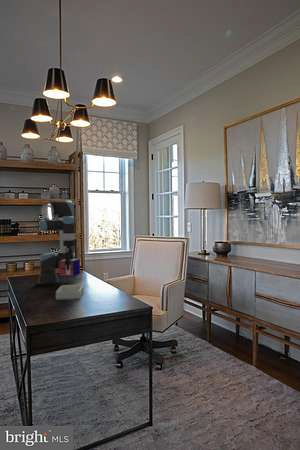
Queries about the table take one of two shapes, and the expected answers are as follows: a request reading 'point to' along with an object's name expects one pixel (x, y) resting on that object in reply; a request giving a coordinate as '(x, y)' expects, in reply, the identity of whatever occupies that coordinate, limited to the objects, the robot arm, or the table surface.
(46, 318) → the table surface
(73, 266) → the puzzle cube
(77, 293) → the bin
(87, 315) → the table surface
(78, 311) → the table surface
